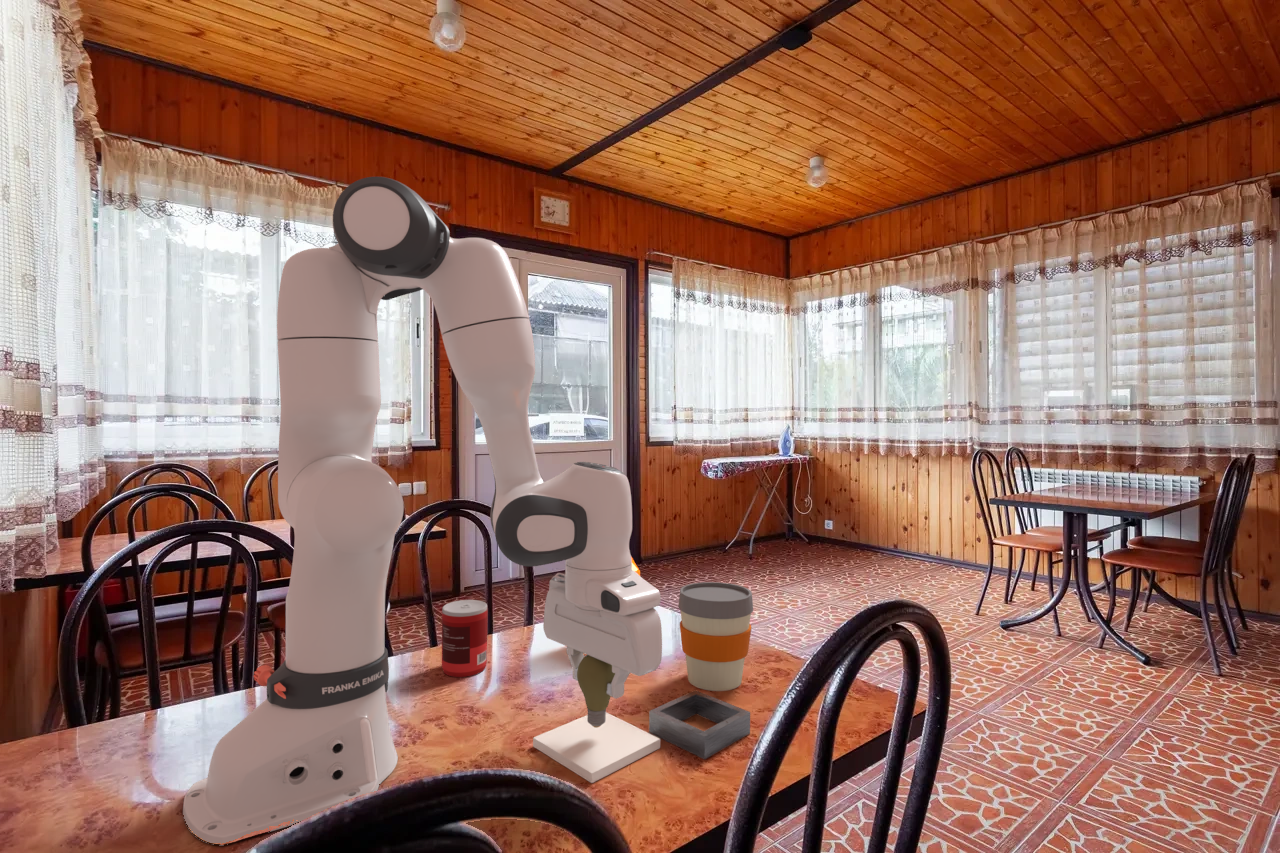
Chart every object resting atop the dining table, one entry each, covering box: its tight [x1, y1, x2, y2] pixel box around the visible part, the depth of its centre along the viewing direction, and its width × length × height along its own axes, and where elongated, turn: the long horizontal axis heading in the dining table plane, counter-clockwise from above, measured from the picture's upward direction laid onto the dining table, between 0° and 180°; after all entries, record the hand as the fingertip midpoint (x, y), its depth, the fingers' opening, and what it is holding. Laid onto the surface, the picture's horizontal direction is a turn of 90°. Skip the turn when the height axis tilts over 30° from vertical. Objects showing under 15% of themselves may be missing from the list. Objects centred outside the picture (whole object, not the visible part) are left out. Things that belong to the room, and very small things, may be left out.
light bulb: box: [577, 654, 615, 728], centre depth 86 cm, size 6×6×10 cm
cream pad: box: [532, 711, 661, 784], centre depth 86 cm, size 12×12×1 cm
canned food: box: [441, 599, 489, 678], centre depth 112 cm, size 8×8×11 cm
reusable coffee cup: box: [678, 581, 754, 692], centre depth 109 cm, size 13×13×15 cm
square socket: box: [648, 689, 751, 760], centre depth 90 cm, size 10×10×3 cm
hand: (597, 687), depth 86 cm, fingers closed on light bulb, 5 cm apart
